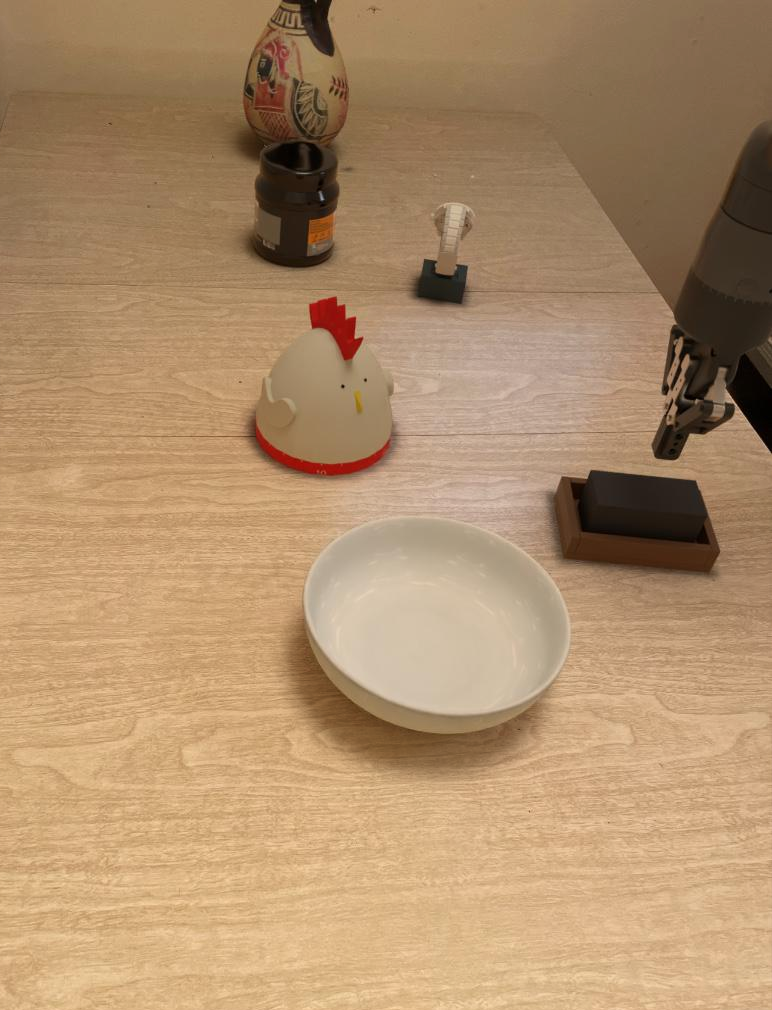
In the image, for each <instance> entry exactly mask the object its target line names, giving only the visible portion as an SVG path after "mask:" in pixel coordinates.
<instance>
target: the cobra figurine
mask: <svg viewBox="0 0 772 1010" xmlns="http://www.w3.org/2000/svg"><path fill="white" fill-rule="evenodd" d="M430 221H433V223H434V226H435V229H436V233H437V237H438V238H440V243H439V247H438V248H439V249H438V254H437V260H435V259H428V258H423V263H422V268H421V272H420V279H419V284H418V290H417V297H416V298H423V299H428V300H434V301H440V302H447V303H453V304H459V305H462V304H463V299H464V294H465V289H466V284H467V278H468V269H469V265H466V264H459V263H457V262H458V258H459V251H458V250H459V247H460V242H461V241H464V239H465V238H466V236H467V235H468V234H469V233H470V232H471V231H472V230H473V228H474V225H475V222H476V214H475V212H474V211H473V209H472V208H471V207H469V206H468V205H466V204H463V203H460V202H446V203H442V204H441V205H439V206H438V207H436V208H435V211H434V213H431V214H430Z"/></svg>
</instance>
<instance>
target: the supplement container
mask: <svg viewBox="0 0 772 1010" xmlns="http://www.w3.org/2000/svg"><path fill="white" fill-rule="evenodd" d="M258 163H259V168H258V170H259V173H258V174H257V175H256V177H255V179H254V185H253V187H254V192H255V193H254V220H253V221H254V223H253V234H252V242H253V246H254V248H255V250H256V251H257V253H258V254H259V255H261V256H262V258H264V259H265V260H267V261H270V262H271V263H275V264H278V265H281V266H286V267H287V266H288V267H294V268H295V267H300V268H301V267H310V266H315V265H317V264H320V263H322V262H324V261H326V260H327V259H328V258H329V257H330V256H331V255H332V253H333V251H334V248H335V235H336V223H337V214H338V203H339V197H340V193H341V187H340V184H339V181H338V179H337V178H338V171H339V158H338V156H337V155H336V154H335V153H334V152H333V151H332V150H331V149H330V148H327V147H326V148H325V147H323V146H321V145H318V144H314V143H310V142H304V141H281V142H276V143H273V144H270V145H268V146H266V147H265V148H264V147H263V148H262V149H261V150H260V152H259V162H258Z"/></svg>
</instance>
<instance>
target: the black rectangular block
mask: <svg viewBox="0 0 772 1010" xmlns="http://www.w3.org/2000/svg"><path fill="white" fill-rule="evenodd" d="M586 479H587V481H586V484H585V486H584V489H583V492H582V495H581V497H580V500H579V503H578V505H577V506H578V511H579V516H580V522H581V527H582V532H588V533H597V534H607V535H617V536H627V537H637V538H647V539H657V540H667V541H676V542H686V543H694V542H695V540H696V538H697V536H698V534H699V532H700V530H701V528H702V526H703V524H704V522H705V520H706V518H707V516H708V515H709V514H708V515H707V512H708V511H707V512H706V509H705V506H704V503H703V500H702V497H701V494H700V491H699V490H700V488H699V485H698V482H697V480H695V479H686V478H676V477H675V478H674V477H668V476H667V477H666V476H655V475H647V474H637V473H626V472H617V471H608V470H607V471H606V470H596V469H590V471H589V473H588V476H587V478H586Z"/></svg>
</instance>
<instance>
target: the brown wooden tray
mask: <svg viewBox="0 0 772 1010" xmlns="http://www.w3.org/2000/svg"><path fill="white" fill-rule="evenodd" d="M586 481H587V478H586V477H585V478H584V477H576V476H575V477H574V476H565V475H561V477H560V479H559V482H558V486H557V488H556V491H555V493H554V497H553V499H554V505H555V511H556V518H557V523H558V529H559V530H558V531H559V535H560V541H561V547H562V548H561V549H562V553H563V558H564V559H568V560H579V561H586V562H587V561H589V562H597V563H598V562H599V563H607V564H608V563H610V564H619V565H626V566H627V565H628V566H638V567H647V568H648V567H649V568H657V569H668V570H678V571H688V572H698V573H708V574H709V573H710V572H711V571H712V569H713V567H714V565H715V563H716V562H717V559H718V557H719V556H720V554H721V549H720V545H719V543H718V539H717V536H716V532H715V530H714V527H713V524H712V521H711V518H710V514H709V511H708V509H707V505H706V502H705V500H704V496H703V493H702V491H701V489H699V491H700V494H701V497H702V500H703V503H704V506H705V509H706V512H707V515H708V516H707V518H706V520H705V522H704V524H703V526H702V528H701V530H700V532H699V534H698V536H697V538H696V540H695V542H694V543H686V542H676V541H667V540H657V539H647V538H637V537H627V536H617V535H607V534H597V533H588V532H582V527H581V522H580V516H579V511H578V506H577V505H578V503H579V500H580V497H581V495H582V492H583V489H584V486H585V484H586Z"/></svg>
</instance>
